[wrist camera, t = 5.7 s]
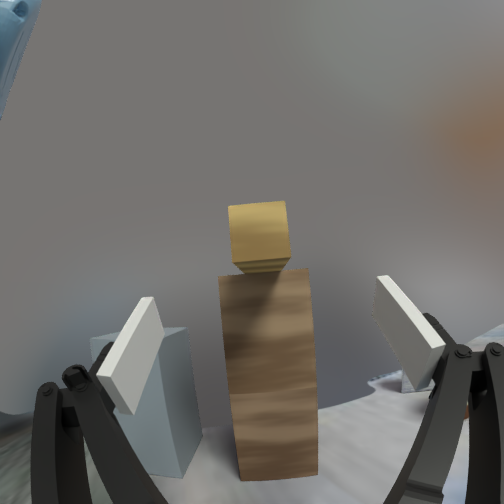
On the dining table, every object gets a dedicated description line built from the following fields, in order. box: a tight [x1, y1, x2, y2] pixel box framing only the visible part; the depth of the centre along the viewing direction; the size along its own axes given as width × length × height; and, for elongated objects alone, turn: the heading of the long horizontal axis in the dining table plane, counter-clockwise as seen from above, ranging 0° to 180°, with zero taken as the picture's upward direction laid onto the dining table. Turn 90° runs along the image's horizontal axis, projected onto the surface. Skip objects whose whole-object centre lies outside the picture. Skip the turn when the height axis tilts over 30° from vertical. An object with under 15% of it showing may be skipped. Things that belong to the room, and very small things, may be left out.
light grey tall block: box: [90, 327, 203, 478], centre depth 36 cm, size 14×10×20 cm
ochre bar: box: [228, 201, 291, 274], centre depth 34 cm, size 30×4×4 cm, turn 177°
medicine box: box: [401, 368, 435, 393], centre depth 48 cm, size 8×4×9 cm, turn 58°
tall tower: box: [218, 268, 318, 481], centre depth 38 cm, size 18×10×28 cm, turn 177°
